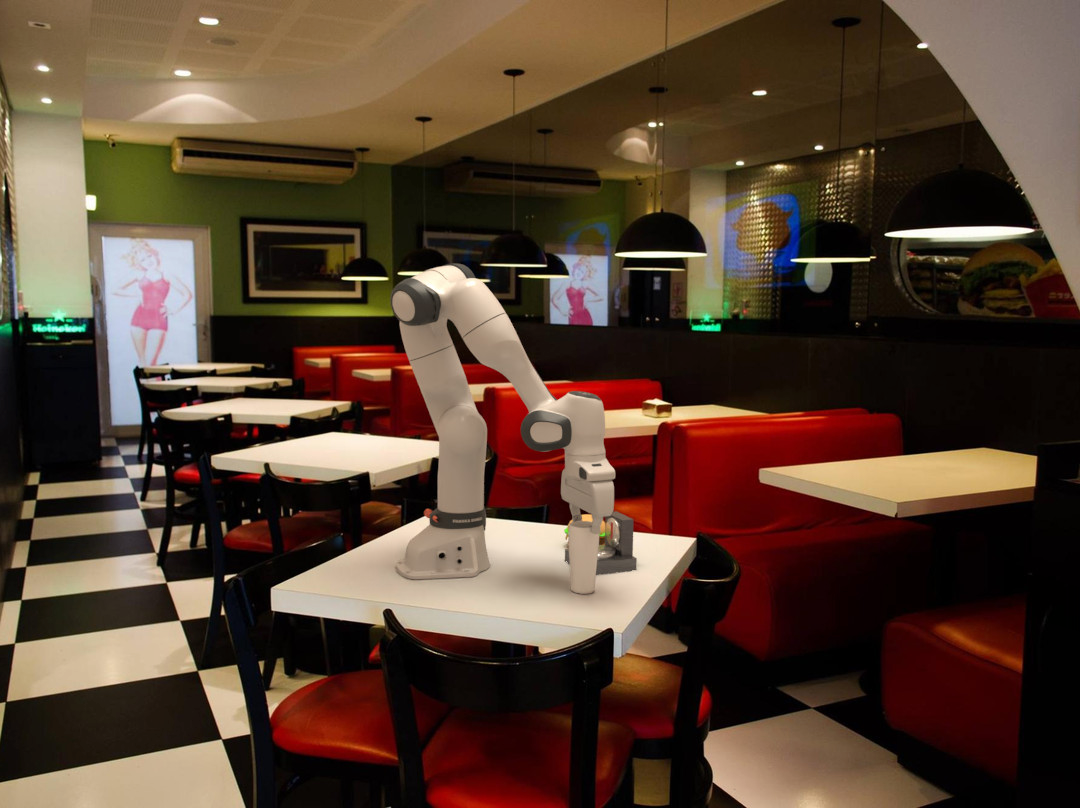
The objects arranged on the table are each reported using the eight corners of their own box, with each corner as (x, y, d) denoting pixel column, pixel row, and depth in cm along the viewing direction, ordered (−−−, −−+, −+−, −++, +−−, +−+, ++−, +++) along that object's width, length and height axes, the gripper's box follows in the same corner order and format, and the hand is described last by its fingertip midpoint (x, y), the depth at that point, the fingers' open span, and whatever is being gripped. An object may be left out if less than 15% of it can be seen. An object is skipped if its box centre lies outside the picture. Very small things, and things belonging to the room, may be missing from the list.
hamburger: (619, 547, 223) (619, 515, 222) (589, 556, 214) (590, 523, 213) (584, 539, 231) (584, 508, 230) (554, 547, 222) (555, 515, 221)
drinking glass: (563, 593, 185) (564, 526, 183) (573, 584, 191) (574, 519, 190) (592, 597, 182) (594, 529, 181) (602, 588, 189) (603, 522, 187)
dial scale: (587, 576, 198) (588, 525, 196) (564, 560, 210) (565, 513, 208) (636, 570, 202) (637, 521, 201) (611, 556, 214) (612, 509, 213)
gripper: (553, 459, 192) (554, 519, 194) (591, 475, 173) (592, 541, 175) (578, 457, 195) (579, 516, 196) (619, 472, 176) (619, 537, 177)
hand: (586, 528), depth 185 cm, fingers open, 8 cm apart
